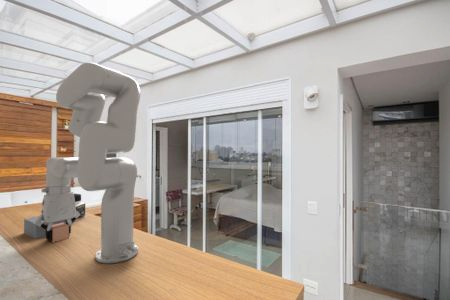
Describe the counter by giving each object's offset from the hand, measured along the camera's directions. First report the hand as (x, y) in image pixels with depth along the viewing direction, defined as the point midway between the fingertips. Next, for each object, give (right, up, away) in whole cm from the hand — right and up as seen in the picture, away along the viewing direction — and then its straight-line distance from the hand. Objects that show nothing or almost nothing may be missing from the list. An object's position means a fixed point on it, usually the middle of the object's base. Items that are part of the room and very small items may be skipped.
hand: (58, 237), depth 87 cm
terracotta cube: (0, -1, 0) cm, 1 cm away
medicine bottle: (-10, 0, +24) cm, 26 cm away
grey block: (-10, -1, +7) cm, 12 cm away
